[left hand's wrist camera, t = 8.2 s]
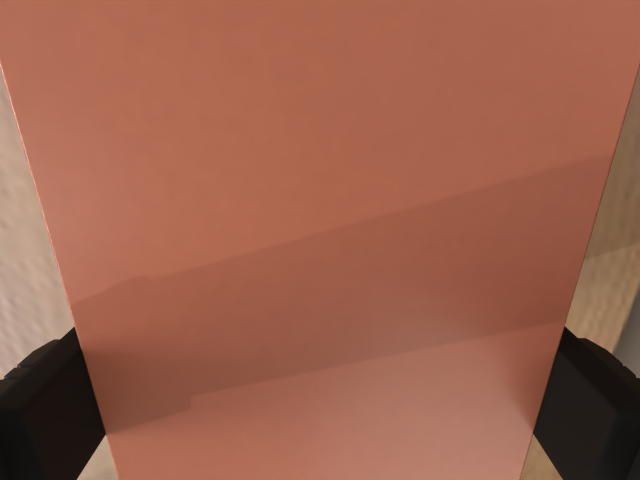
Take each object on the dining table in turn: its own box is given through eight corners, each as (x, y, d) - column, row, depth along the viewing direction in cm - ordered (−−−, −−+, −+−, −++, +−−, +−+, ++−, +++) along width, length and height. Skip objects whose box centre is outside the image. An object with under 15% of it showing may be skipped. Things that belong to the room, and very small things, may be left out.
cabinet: (153, -127, 12) (-200, -613, 4) (486, -126, 12) (839, -606, 4) (209, 309, 18) (118, 482, 10) (429, 309, 18) (520, 482, 10)
